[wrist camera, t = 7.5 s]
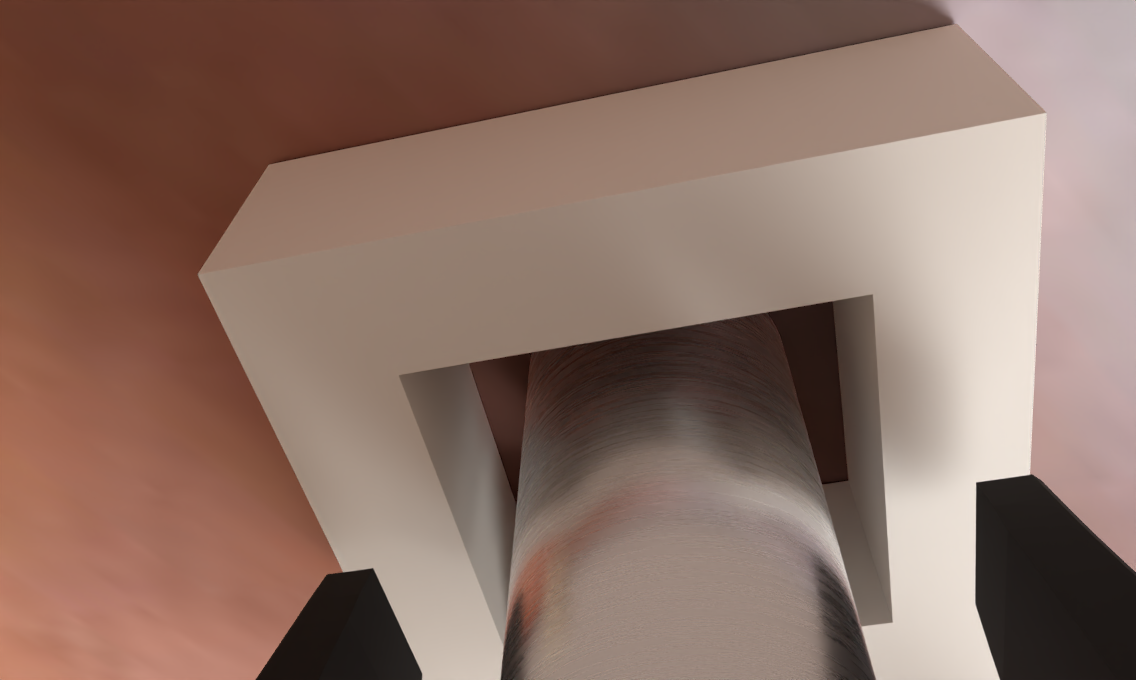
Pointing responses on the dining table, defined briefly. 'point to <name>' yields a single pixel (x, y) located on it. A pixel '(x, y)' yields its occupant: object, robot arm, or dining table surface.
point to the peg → (675, 517)
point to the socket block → (660, 312)
